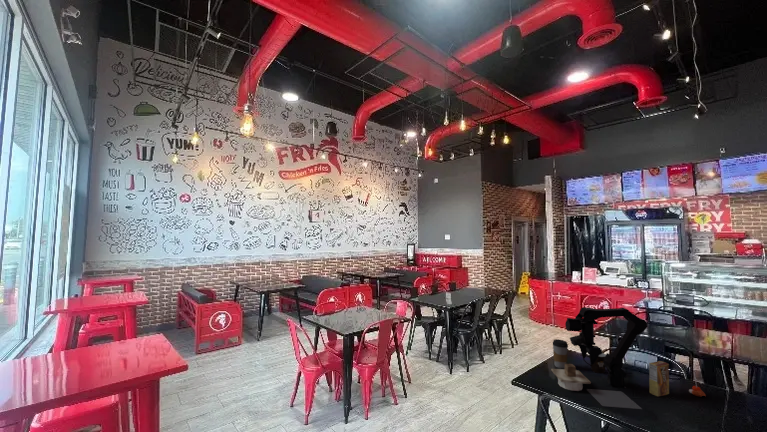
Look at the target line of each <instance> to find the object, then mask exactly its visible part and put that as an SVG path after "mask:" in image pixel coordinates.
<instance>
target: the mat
mask: <svg viewBox="0 0 767 432" xmlns="http://www.w3.org/2000/svg"><path fill="white" fill-rule="evenodd" d="M585 390H586V391H587V392H588V393H589V394H590V395H591V396H592V397H593V398H594V399H595V400H596V401H597V402H598V403H599V404H600V405H601V406H602V407H608V408H609V407H610V408H611V407H612V408H621V409H622V408H623V409H634V410H635V409H636V410H643V408H642V407H641V406H639V405H638V404H637V403H636V402H635V401H634V400H633V399H632V398H630V397H629V396H628V395H626V394H625V393H624V392H623V391H620V390H606V389H593V388H592V389H591V388H585Z"/></svg>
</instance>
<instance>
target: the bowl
mask: <svg viewBox="0 0 767 432" xmlns="http://www.w3.org/2000/svg"><path fill="white" fill-rule="evenodd" d="M557 384H558V385H559V387H561V388H563V389H565V390H568V391H574V392H579V391H582V390H583V387H584V386H583V385H584V383H570V382H561V381H560V380H559V379H558V378H557Z"/></svg>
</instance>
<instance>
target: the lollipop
mask: <svg viewBox="0 0 767 432" xmlns="http://www.w3.org/2000/svg"><path fill="white" fill-rule="evenodd" d="M693 377H694V381H695V385H693V386H692V387H691V388H690V389H688V392H689V393H690V394H692V395H694V396H696V397H702V396H705V397H706V396H707V395H706V393H705V392H704V391H703V390H702V389H701V387H699V386H698V385H697V384H698V382H699V383H700V384H701V385H702V384H703V383H702V382H701V380H698V379H697V377H696V372H695V371H694V372H693Z"/></svg>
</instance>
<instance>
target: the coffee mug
mask: <svg viewBox="0 0 767 432" xmlns="http://www.w3.org/2000/svg"><path fill="white" fill-rule="evenodd" d="M606 354H607V353H603V352H602V354H601V355H599V356H598V358H597V359H596V361H595V363H594V364H593V365H591V363H590V362H589V363H588V362H587V360H585V358H583V357H582V360H583V361H584V362H585V363H586V364H587V365H589V366H590V368H591V371H592V372H593V373H596V374H601V375H602V374H605V371H606V370H605V369H606V367H605V366H604V363H603V361H604V359H603V358H605V356H606ZM587 357H588V359H590V357H589V354H588V355H587V354H586V358H587Z"/></svg>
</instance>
